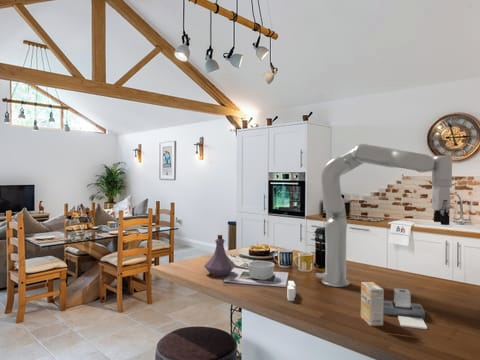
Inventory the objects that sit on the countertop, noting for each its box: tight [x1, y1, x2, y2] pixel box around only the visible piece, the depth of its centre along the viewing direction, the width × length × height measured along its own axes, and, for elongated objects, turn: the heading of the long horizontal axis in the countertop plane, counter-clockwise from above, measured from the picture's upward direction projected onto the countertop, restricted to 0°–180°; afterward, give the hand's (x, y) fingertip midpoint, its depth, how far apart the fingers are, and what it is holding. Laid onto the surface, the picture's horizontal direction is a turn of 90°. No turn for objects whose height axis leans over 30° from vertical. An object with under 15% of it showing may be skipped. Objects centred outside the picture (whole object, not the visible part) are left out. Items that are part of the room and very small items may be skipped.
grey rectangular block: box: [393, 287, 412, 309], centre depth 134 cm, size 5×5×8 cm
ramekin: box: [247, 260, 275, 279], centre depth 181 cm, size 13×13×7 cm
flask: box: [203, 234, 236, 277], centre depth 187 cm, size 16×16×20 cm
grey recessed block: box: [383, 299, 426, 320], centre depth 134 cm, size 14×8×3 cm, turn 73°
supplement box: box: [360, 281, 385, 327], centre depth 126 cm, size 8×5×13 cm, turn 5°
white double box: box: [286, 280, 297, 302], centre depth 153 cm, size 15×11×6 cm
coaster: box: [397, 316, 428, 330], centre depth 125 cm, size 8×8×1 cm
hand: (441, 223), depth 157 cm, fingers open, 9 cm apart
